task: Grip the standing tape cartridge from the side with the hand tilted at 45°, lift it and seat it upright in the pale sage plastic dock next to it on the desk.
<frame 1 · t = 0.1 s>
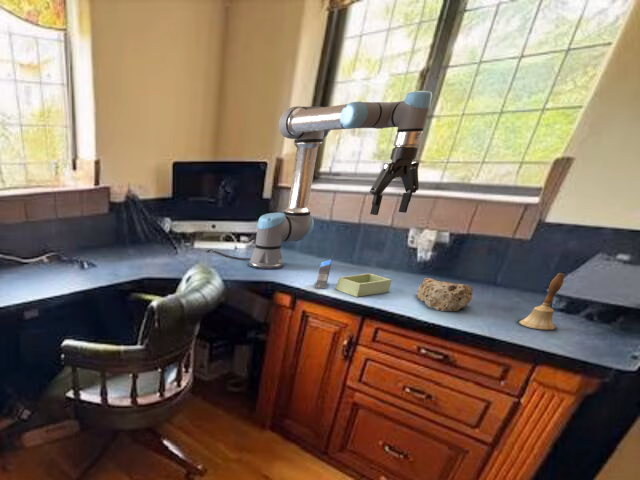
hand: (388, 213, 153), 28 cm above the table, tool pointing down, fingers open, 13 cm apart
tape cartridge: (321, 286, 172), on the table
hand bell: (536, 325, 129), on the table
dock: (361, 290, 164), on the table
rock: (441, 303, 149), on the table
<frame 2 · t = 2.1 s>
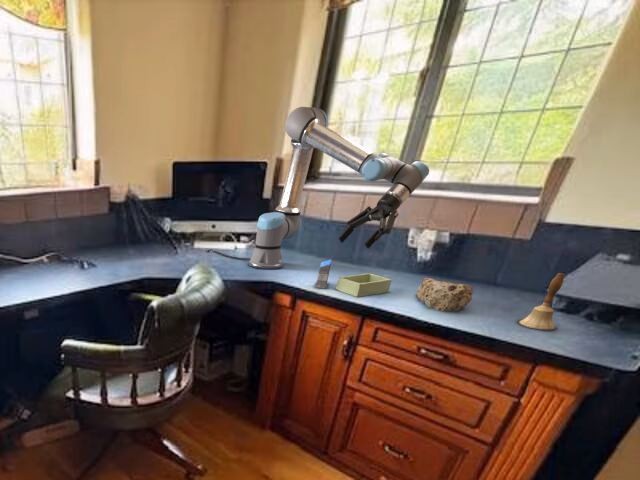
hand: (352, 243, 167), 16 cm above the table, tool tilted 45°, fingers open, 13 cm apart
nothing on the table moved.
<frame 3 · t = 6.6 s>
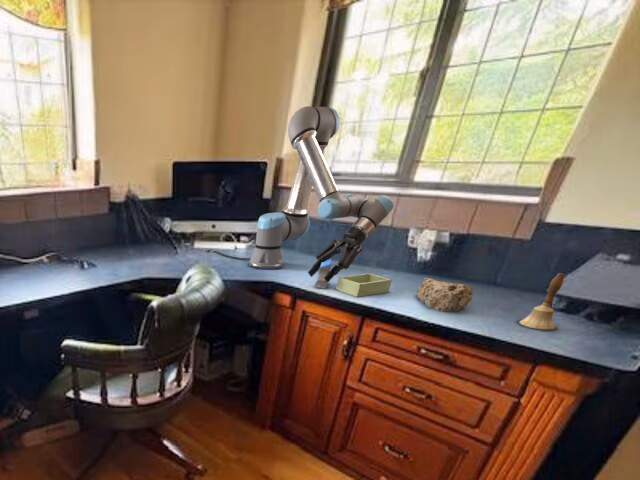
hand: (317, 277, 169), 4 cm above the table, tool tilted 45°, fingers closed on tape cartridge, 8 cm apart
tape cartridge: (321, 286, 172), on the table, touching gripper
everything else where it was.
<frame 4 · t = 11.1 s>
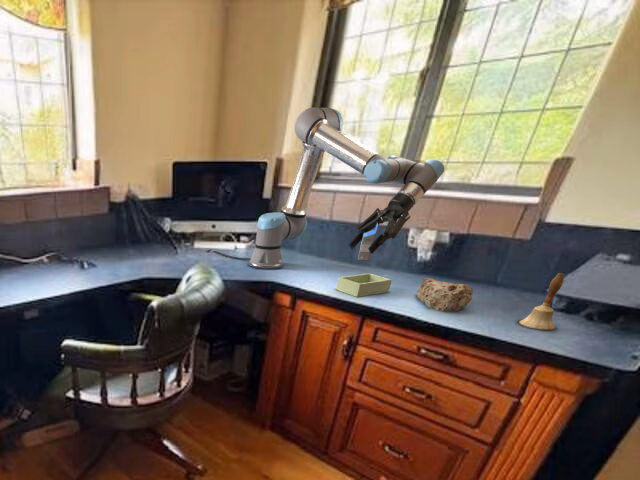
hand: (360, 248, 157), 16 cm above the table, tool tilted 45°, fingers closed on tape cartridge, 8 cm apart
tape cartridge: (363, 258, 159), point 12 cm above the table, touching gripper
everything else where it was.
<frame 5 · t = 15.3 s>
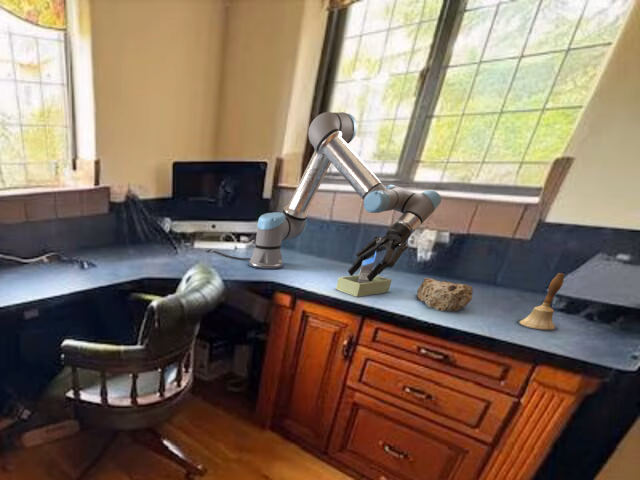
hand: (359, 276, 161), 6 cm above the table, tool tilted 45°, fingers closed on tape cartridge, 8 cm apart
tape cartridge: (362, 285, 163), point 2 cm above the table, touching gripper
everything else where it was.
when the fingers open (6 cm above the table, at t = 15.6 s): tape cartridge drops 2 cm, resting on dock.
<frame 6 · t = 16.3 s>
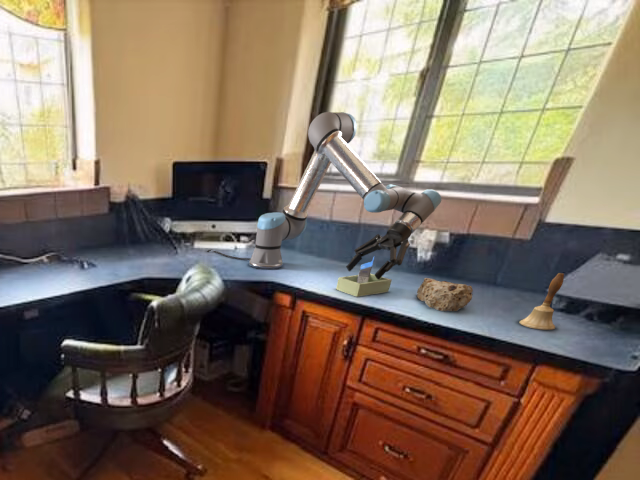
hand: (361, 273, 160), 7 cm above the table, tool tilted 45°, fingers open, 13 cm apart
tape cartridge: (360, 289, 164), point 1 cm above the table, touching dock
everything else where it was.
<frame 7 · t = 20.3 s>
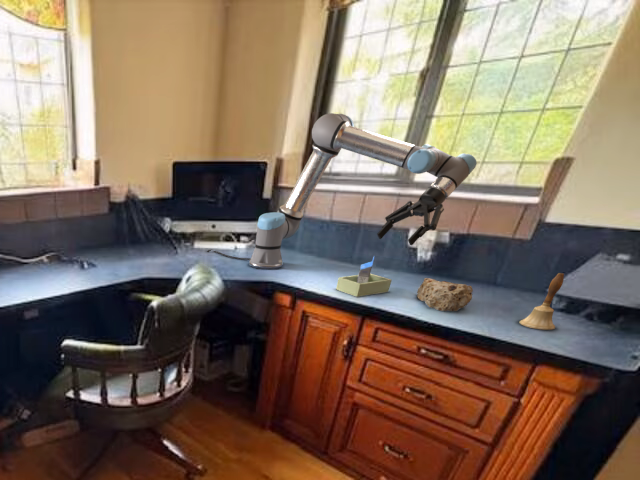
hand: (393, 239, 158), 18 cm above the table, tool tilted 45°, fingers open, 13 cm apart
nothing on the table moved.
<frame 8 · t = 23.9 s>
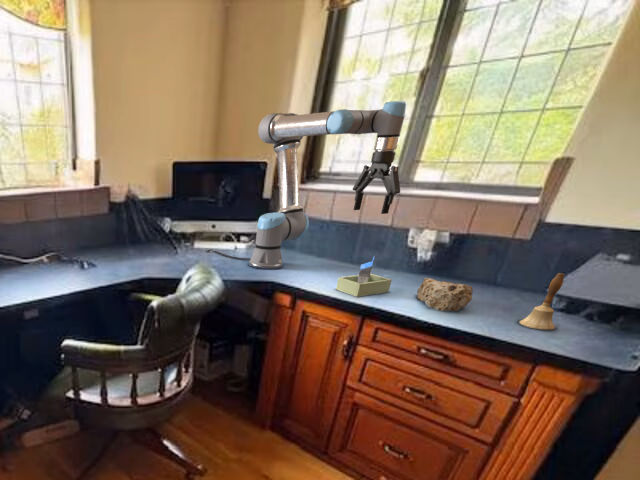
hand: (370, 211, 167), 27 cm above the table, tool pointing down, fingers open, 13 cm apart
nothing on the table moved.
at the end: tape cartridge 0.7 cm off-centre in the dock, point 0.6 cm above the dock's base; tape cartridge tilted 0°; the gripper is holding nothing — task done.
